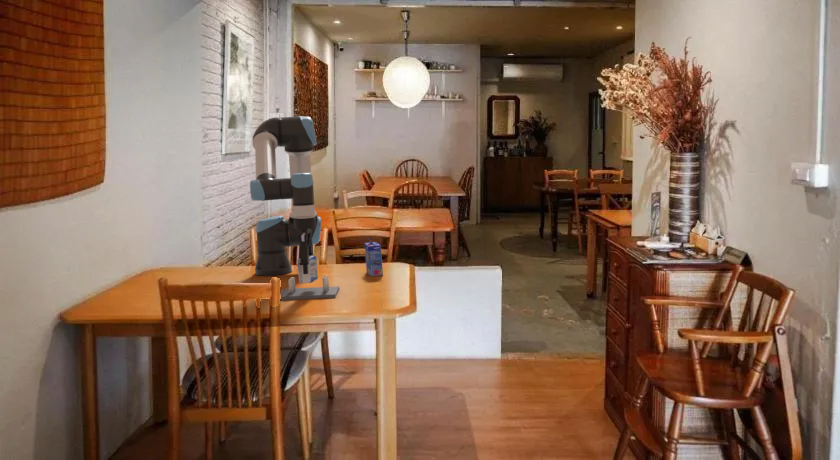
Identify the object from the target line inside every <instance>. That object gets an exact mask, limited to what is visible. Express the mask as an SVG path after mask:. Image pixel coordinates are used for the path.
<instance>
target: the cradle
mask: <svg viewBox="0 0 840 460" xmlns="http://www.w3.org/2000/svg"><path fill="white" fill-rule="evenodd" d="M295 280H296V277H293V276H291V277H290V278H288V281H287V282H288V288H284V289H283V290H282V291H281V292H280V294H281V300H280V301H289V300H290V301H292V300H295V301H297V300H315V299H316V300H317V299H336V298H337V296H338V294H339V291H340V286H329V285H330V283H329V282H330V281H329V275H323V277H322V279H321V280H322V286H320V287H319V286H317V287H299V288H298V287H296V281H295Z"/></svg>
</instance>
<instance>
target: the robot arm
mask: <svg viewBox="0 0 840 460" xmlns="http://www.w3.org/2000/svg"><path fill="white" fill-rule="evenodd" d="M317 143H318V142H317V137H316V131H315V127H314V121H313V119H312V118H311V117H310V116H301V115H299V116H298V115H297V116H284V117H283V116H282V117H271V118H269V119H266V120H265V121H263V122H262V123H260V124H259V125H258V126H257V128H256V130H255V131H254V133H253V136H252V147H253V148H254V150H255V153H254V155H255V157H254V158H255V179H252V180H250V183H249V187H250V188H249V190H250V191H249V192H250V198H251V200H253V201H254V202H255V201H256V202H257V201H259V202H260V201H261V202H265V201H275V200H276V201H278V200H291V206H292V207H291V210H290V211H291V212H290V213H289V214H288V218H285V216H284V215H275V216H274V215H273V216H269V217H265V218H261V219H259V220H257V221H256V223H255V228H256V229H255V233H256V241H257V242H256V244H257V245H256V247H257V259H256V262H255V266H254V274H255V275H257V276H263V277H264V276H265V277H267V276H279V275H284V274H289V273H291V272H292V271H293V269H292V268H293V267H292V264H291V262H290V259H289V256H288V255H287V247H288V248H289V247H299V259H300V263H299V265H302V281H303V283H302V284H312V283H311V279H310V264H309V256H315V255H314V247H313V246H314V245H317V244H319V243H320V240H321V233H322V232H321V231H322V217H320V216H318V212H317V211H316V206H315V205H316V204H315V196H314V195H315V193H314V192H315V191H314V179H313V174H312V165H311V163H312V162H311V153H312V152H313V151H314V146H316V145H317ZM279 147H281V148H282V147H283V148H284V152H285V153H286V154H287V155H288V162H289V163H288V164H289V177H287V178H286V177H285V178H277V177H278V176H277V161H276V160H277V159H276V158H277V157H276V149H277V148H279Z"/></svg>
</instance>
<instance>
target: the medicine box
mask: <svg viewBox="0 0 840 460" xmlns="http://www.w3.org/2000/svg"><path fill="white" fill-rule="evenodd" d="M299 263H300V258H298V259H297V274H298V282H299V283H298V284H304V283H303V281H302V265H299ZM309 264H310V279H311V283H310V284H312V283H313V282H315V281H317V280H318V279H319V278H318V277H319V275H318V263H317V255H314V256H309Z"/></svg>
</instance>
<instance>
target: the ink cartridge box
mask: <svg viewBox="0 0 840 460" xmlns="http://www.w3.org/2000/svg"><path fill="white" fill-rule="evenodd" d="M367 240H368V241H369V242H364V254H365V257H364V258H365V267H366V268H365V269H366V273H367V275H368V276H370V277H375V276H376V277H377V276H383V275H384V269H383V258H382V246H381V244H379V243H378V242H376V241H373V242H372V240H371V239H370V238H367Z"/></svg>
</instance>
